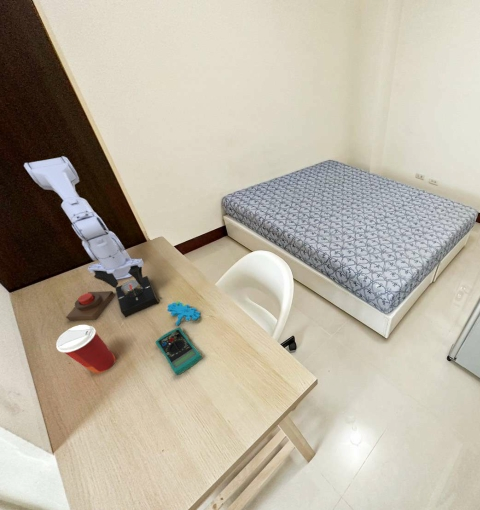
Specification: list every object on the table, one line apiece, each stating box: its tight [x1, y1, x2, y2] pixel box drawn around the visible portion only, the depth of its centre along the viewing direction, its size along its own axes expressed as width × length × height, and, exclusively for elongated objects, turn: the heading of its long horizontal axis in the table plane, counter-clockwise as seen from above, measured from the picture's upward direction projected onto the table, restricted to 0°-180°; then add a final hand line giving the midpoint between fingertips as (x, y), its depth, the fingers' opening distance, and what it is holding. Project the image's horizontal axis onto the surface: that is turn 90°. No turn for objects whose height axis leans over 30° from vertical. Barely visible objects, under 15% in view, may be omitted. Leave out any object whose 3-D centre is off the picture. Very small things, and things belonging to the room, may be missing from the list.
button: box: [77, 292, 94, 305], centre depth 87 cm, size 4×4×2 cm
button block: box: [65, 290, 116, 322], centre depth 89 cm, size 11×8×4 cm
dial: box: [121, 279, 143, 298], centre depth 91 cm, size 5×5×4 cm
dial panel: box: [115, 275, 160, 318], centre depth 93 cm, size 14×10×3 cm
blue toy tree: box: [166, 300, 201, 326], centre depth 85 cm, size 11×6×10 cm
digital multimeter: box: [154, 327, 203, 376], centre depth 77 cm, size 7×15×3 cm, turn 48°
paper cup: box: [55, 324, 116, 374], centre depth 70 cm, size 8×8×14 cm
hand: (128, 283), depth 89 cm, fingers open, 7 cm apart
